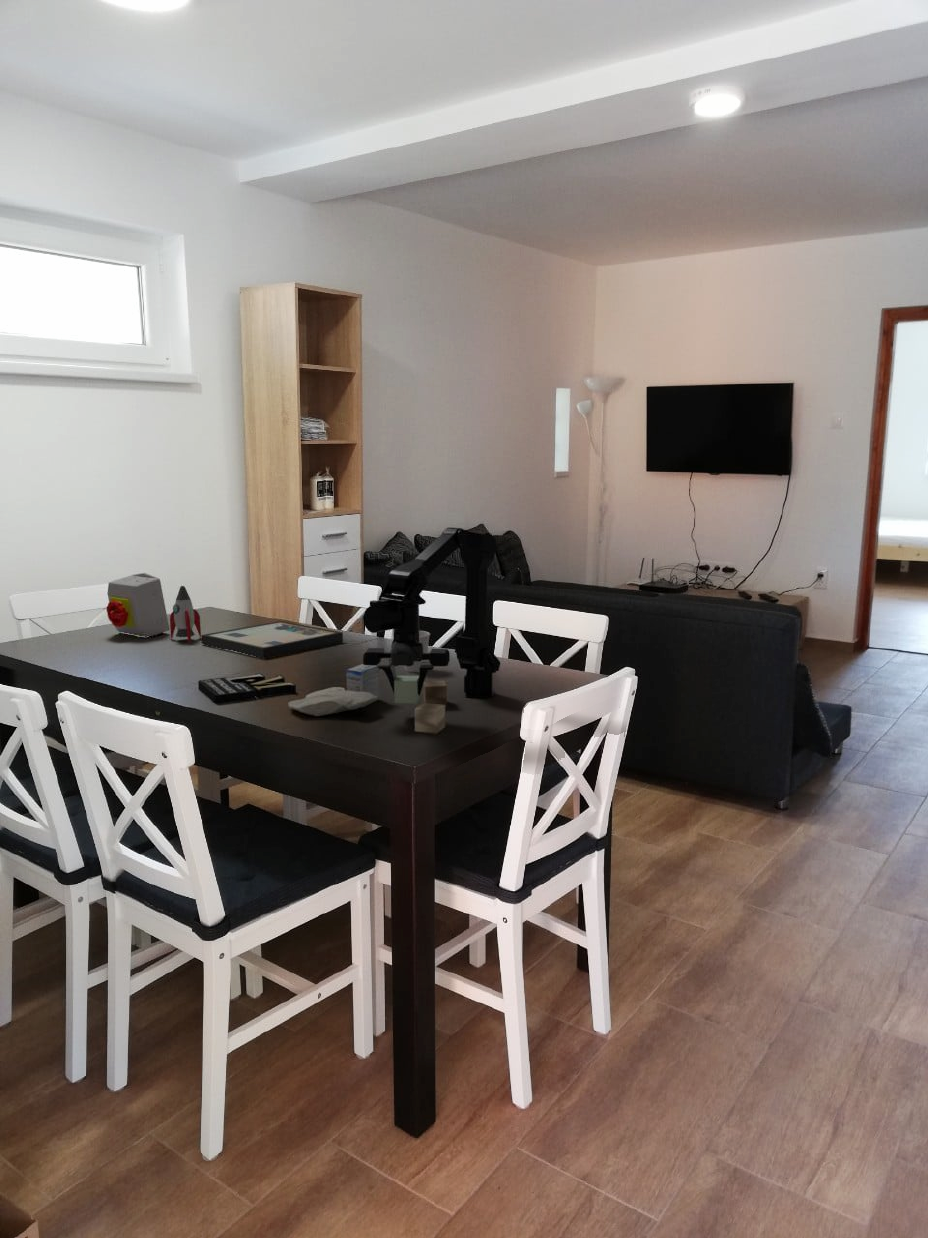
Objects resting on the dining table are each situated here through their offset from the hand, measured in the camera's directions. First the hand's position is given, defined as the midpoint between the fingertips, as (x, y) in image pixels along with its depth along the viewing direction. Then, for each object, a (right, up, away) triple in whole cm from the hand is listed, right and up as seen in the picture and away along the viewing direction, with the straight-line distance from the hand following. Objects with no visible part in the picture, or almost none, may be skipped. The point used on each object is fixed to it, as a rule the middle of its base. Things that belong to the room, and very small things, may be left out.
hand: (407, 694), depth 210 cm
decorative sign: (-41, -2, +24) cm, 48 cm away
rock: (-19, -5, +5) cm, 20 cm away
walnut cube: (+6, -3, +11) cm, 13 cm away
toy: (-74, +10, +85) cm, 113 cm away
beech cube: (+5, -7, -8) cm, 12 cm away
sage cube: (0, -1, 0) cm, 1 cm away
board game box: (-46, +8, +79) cm, 92 cm away
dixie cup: (-1, +3, +45) cm, 46 cm away
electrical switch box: (-93, +11, +93) cm, 132 cm away
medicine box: (-11, -3, +13) cm, 17 cm away
